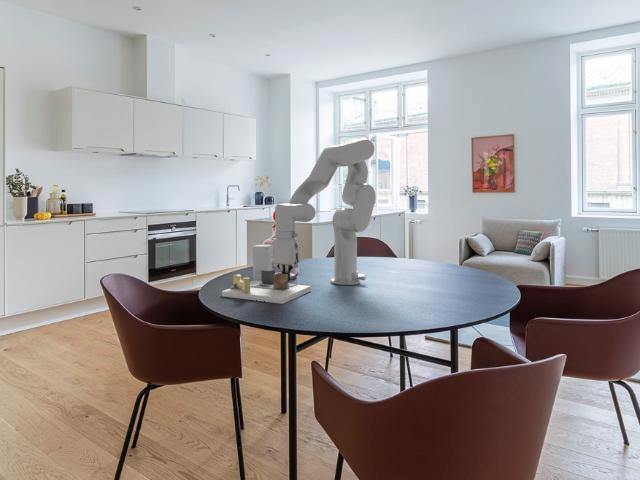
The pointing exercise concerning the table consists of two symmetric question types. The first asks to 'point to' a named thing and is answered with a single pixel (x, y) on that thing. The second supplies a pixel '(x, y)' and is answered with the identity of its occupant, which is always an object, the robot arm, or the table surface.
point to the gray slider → (267, 275)
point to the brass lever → (242, 283)
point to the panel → (268, 292)
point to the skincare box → (261, 260)
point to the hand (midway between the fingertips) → (285, 281)
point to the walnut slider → (280, 280)
